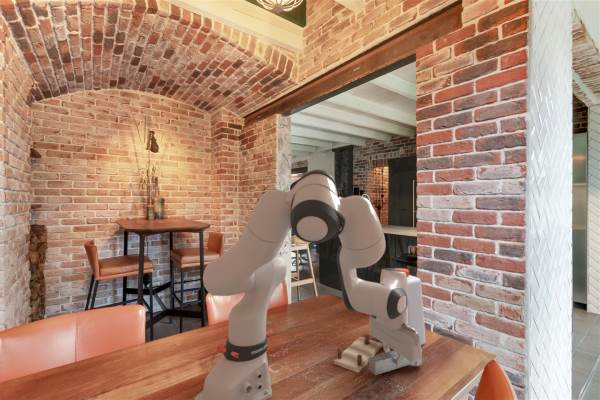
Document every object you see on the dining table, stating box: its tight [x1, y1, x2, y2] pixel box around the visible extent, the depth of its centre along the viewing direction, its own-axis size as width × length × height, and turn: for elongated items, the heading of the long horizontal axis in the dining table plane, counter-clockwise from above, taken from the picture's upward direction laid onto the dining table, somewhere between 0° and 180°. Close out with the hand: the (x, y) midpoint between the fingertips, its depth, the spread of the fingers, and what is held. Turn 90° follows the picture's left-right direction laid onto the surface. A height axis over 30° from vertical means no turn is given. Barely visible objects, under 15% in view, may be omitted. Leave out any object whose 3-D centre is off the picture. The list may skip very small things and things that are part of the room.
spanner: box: [368, 348, 423, 376], centre depth 94 cm, size 20×6×4 cm, turn 115°
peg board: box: [333, 333, 383, 374], centre depth 103 cm, size 21×9×4 cm, turn 144°
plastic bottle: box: [394, 267, 426, 346], centre depth 114 cm, size 15×15×28 cm
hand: (393, 361), depth 93 cm, fingers closed on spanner, 3 cm apart
